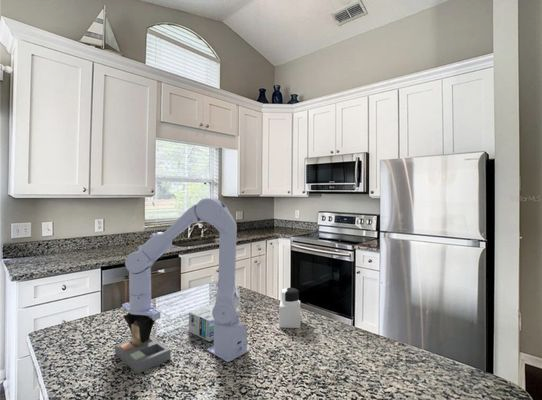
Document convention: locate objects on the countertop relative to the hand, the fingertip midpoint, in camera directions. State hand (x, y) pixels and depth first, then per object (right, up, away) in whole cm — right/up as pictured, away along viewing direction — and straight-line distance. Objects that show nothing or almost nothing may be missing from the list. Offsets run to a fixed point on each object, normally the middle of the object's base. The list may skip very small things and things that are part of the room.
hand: (140, 339), depth 85 cm
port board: (+2, -3, -3) cm, 5 cm away
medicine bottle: (+44, -3, +17) cm, 48 cm away
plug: (0, -2, 0) cm, 2 cm away
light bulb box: (+14, 0, +15) cm, 21 cm away
